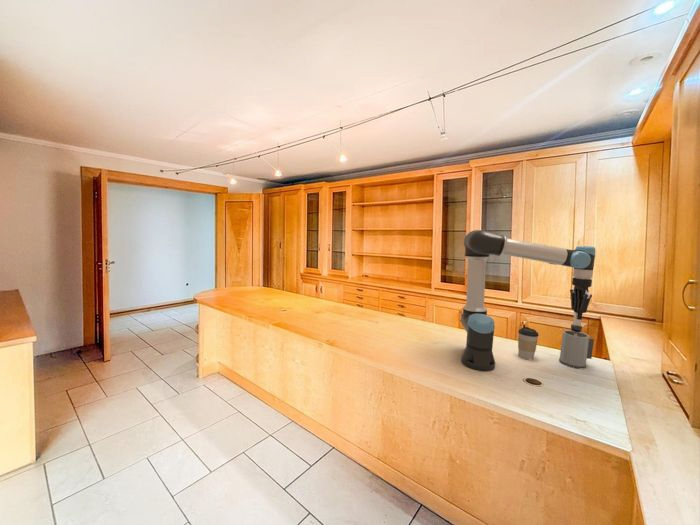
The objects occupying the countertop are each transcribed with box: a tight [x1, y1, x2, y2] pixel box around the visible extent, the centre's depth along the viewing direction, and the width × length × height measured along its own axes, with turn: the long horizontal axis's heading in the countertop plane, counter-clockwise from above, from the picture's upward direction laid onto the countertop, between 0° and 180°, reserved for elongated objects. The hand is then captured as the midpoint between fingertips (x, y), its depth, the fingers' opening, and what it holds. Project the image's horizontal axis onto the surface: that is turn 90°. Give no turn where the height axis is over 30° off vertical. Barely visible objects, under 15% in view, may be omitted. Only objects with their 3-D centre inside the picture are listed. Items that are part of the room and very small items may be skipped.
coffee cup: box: [517, 326, 539, 360], centre depth 154 cm, size 9×9×15 cm
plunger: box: [570, 323, 583, 336], centre depth 147 cm, size 7×7×15 cm
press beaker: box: [558, 329, 595, 369], centre depth 147 cm, size 13×11×15 cm
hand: (576, 325), depth 146 cm, fingers closed
